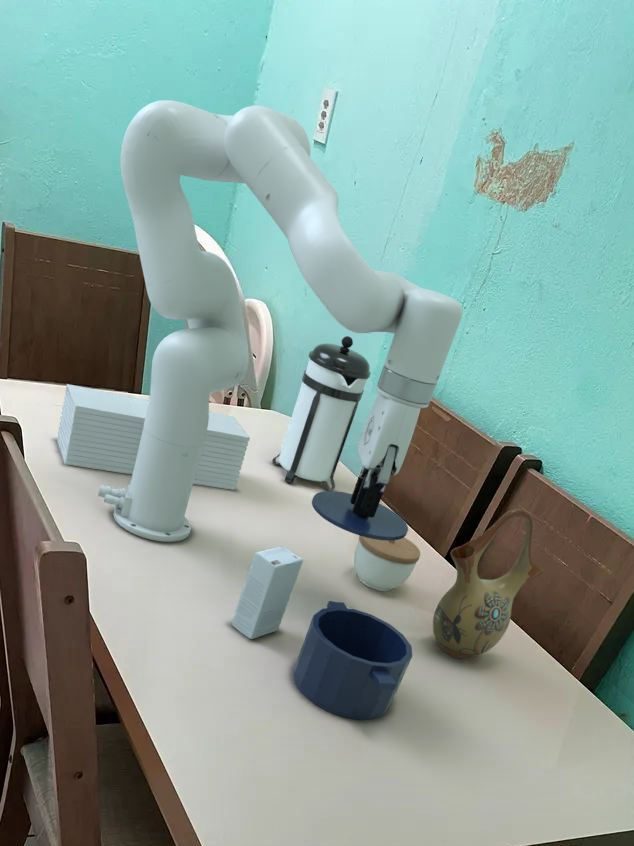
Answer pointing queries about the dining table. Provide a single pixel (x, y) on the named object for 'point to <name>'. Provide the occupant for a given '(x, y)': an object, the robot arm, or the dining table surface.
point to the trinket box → (384, 562)
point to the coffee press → (323, 412)
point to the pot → (351, 662)
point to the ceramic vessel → (481, 595)
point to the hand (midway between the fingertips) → (361, 509)
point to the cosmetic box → (266, 592)
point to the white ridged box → (139, 436)
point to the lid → (359, 516)
